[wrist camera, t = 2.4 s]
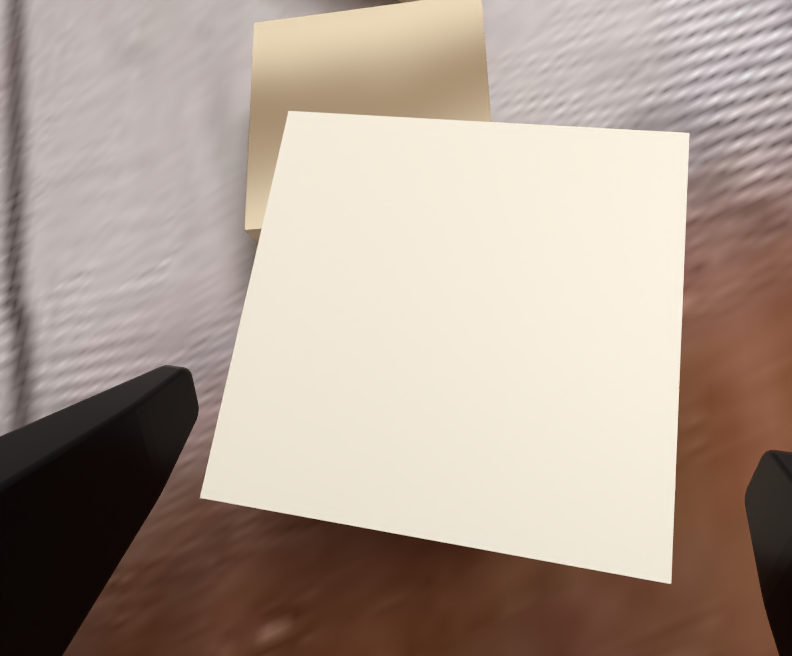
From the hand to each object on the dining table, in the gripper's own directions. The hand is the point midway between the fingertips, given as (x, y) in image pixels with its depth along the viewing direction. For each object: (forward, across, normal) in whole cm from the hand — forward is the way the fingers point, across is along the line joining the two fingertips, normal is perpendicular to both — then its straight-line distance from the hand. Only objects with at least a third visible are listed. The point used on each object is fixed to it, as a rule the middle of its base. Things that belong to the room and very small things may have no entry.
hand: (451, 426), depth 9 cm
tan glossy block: (+13, +4, 0) cm, 13 cm away
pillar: (+7, 0, +5) cm, 9 cm away
